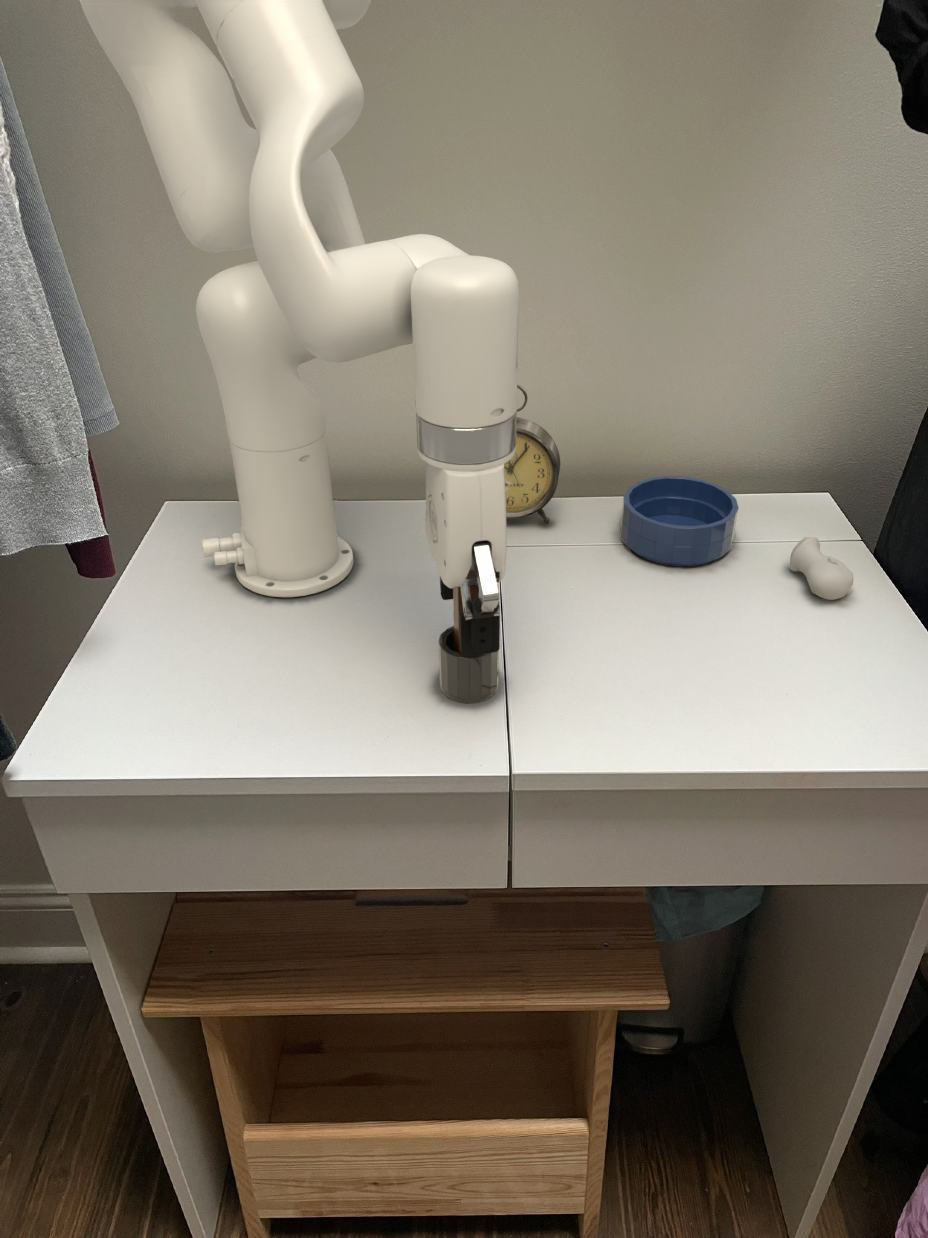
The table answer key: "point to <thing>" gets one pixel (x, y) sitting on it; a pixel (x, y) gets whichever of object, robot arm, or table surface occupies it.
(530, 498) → the alarm clock
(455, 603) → the stick
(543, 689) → the table surface
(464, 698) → the crock
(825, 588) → the smooth white sculpture
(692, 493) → the bowl
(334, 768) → the table surface
